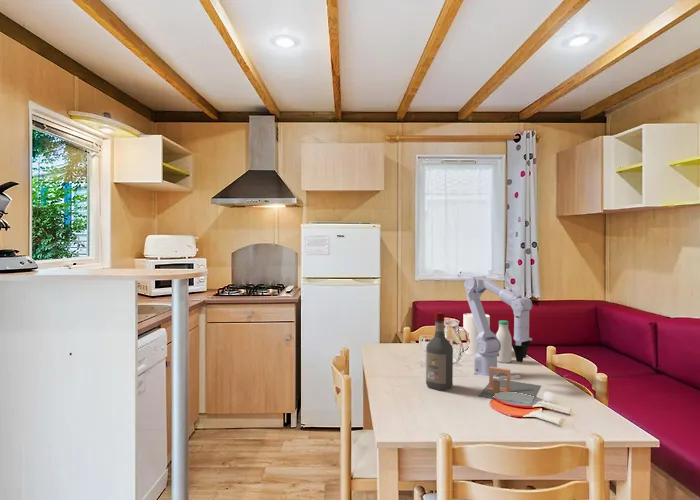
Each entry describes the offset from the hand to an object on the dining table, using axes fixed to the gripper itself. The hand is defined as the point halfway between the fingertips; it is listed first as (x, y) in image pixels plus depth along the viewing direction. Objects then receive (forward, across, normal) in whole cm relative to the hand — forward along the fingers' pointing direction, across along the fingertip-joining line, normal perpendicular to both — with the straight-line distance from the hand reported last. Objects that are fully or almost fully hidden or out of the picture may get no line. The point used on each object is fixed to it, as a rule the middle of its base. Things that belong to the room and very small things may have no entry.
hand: (521, 359), depth 180 cm
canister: (+11, +44, +30) cm, 54 cm away
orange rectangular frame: (+10, -14, +6) cm, 18 cm away
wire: (+10, -13, +3) cm, 17 cm away
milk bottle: (+11, +34, +14) cm, 38 cm away
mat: (+10, -10, +2) cm, 15 cm away
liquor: (+11, -20, +28) cm, 36 cm away
